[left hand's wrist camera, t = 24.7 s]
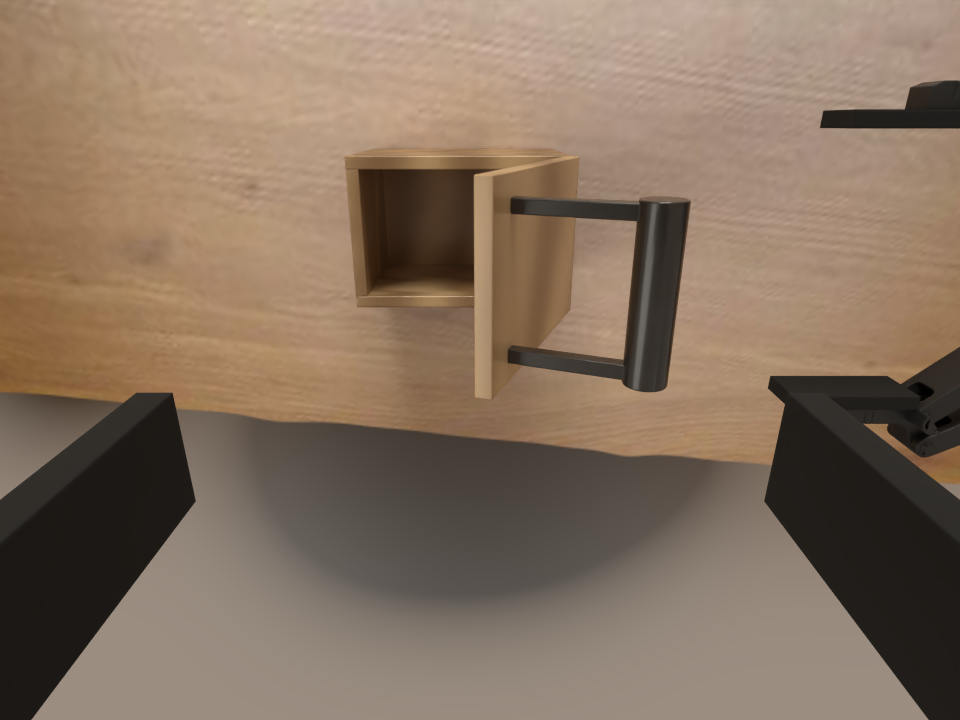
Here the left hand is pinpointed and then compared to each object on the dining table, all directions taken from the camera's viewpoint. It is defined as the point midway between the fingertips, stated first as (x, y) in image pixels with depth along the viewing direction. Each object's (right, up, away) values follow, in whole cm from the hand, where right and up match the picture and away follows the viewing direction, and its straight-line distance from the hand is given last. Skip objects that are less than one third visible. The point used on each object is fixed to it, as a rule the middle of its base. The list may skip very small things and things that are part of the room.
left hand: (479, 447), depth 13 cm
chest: (-1, +14, +34) cm, 37 cm away
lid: (+2, +7, +18) cm, 20 cm away
